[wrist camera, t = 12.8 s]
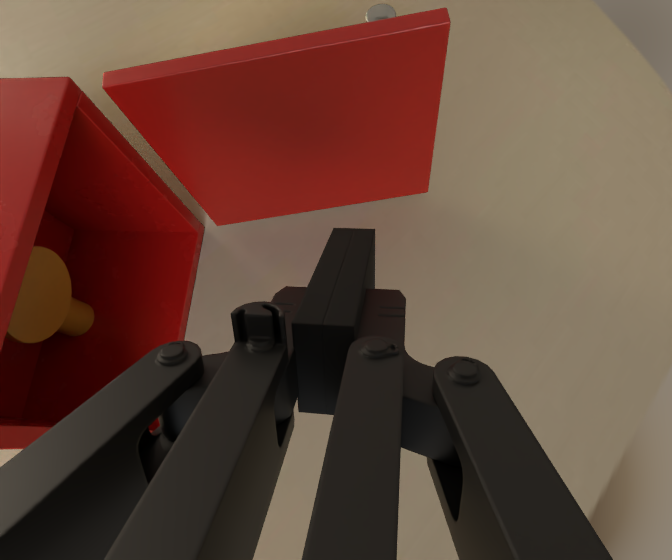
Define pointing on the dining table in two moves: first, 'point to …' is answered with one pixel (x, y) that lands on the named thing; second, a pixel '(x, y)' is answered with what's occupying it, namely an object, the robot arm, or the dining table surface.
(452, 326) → the dining table surface
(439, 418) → the robot arm
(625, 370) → the dining table surface
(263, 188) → the door
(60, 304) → the cabinet
